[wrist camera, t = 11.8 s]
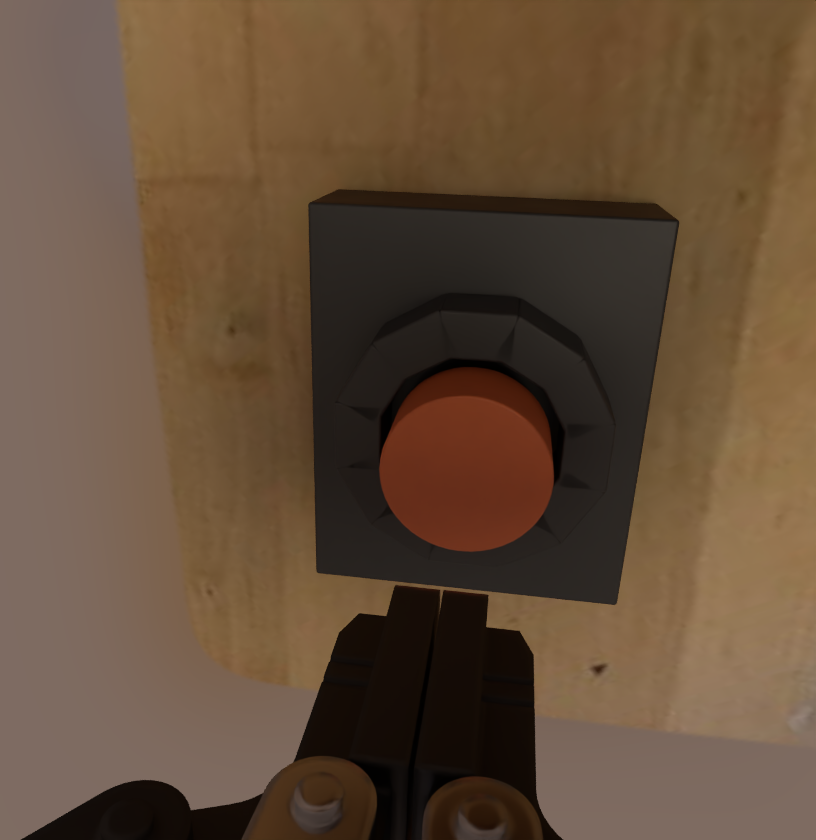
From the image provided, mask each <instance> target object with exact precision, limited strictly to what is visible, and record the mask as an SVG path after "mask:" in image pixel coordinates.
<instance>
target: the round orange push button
mask: <svg viewBox="0 0 816 840" xmlns="http://www.w3.org/2000/svg"><path fill="white" fill-rule="evenodd" d="M379 471H380V482H381V487H382V490H383V493H384V496H385V499H386V501H387V503H388V505H389V507H390V508H391V510H392V511H393V513H394V514H395V516H396V517H397V518H398V519H399V520H400V522H401V523H402V524H403V525H404V526H405V527H406V528H408V529H409V530H410V531H411V532H412V533H414V534H415V535H417V536H418V537H420V538H422V539H423V540H425V541H427V542H429V543H431V544H434V545H436V546H439V547H442V548H446V549H450V550H456V551H468V552H474V551H484V550H490V549H494V548H497V547H501V546H504V545H506V544H508V543H510V542H513V541H514V540H516V539H517V538H519V537H521V536H522V535H523V534H525V533H526V532H527V531H528V530H530V529H531V528H532V527H533V526H534V525H535V524H536V523H537V521H538V520H539V519H540V517H541V516H542V515H543V513H544V511H545V509H546V507H547V505H548V503H549V500H550V498H551V495H552V490H553V485H554V468H553V455H552V443H551V432H550V427H549V423H548V419H547V417H546V415H545V412H544V410H543V408H542V407H541V405H540V403H539V402H538V401H537V399H536V398H535V397H534V395H533V394H532V393H531V392H530V391H529V390H528V389H527V388H526V387H524V386H523V385H522V384H520V383H519V382H518V381H516V380H514V379H513V378H511V377H509V376H507V375H505V374H502V373H500V372H498V371H494V370H490V369H486V368H479V367H460V368H453V369H449V370H445V371H442V372H439V373H437V374H434V375H432V376H431V377H429V378H427V379H425V380H424V381H422V382H421V383H420V384H418V385H417V386H416V387H415V388H414V389H413V390H412V391H411V392H410V393H409V394H408V395H407V397H406V398H405V399H404V401H403V403H402V404H401V406H400V408H399V410H398V412H397V415H396V417H395V420H394V422H393V424H392V427H391V429H390V432H389V434H388V437H387V439H386V441H385V444H384V446H383V449H382V453H381V458H380V467H379Z"/></svg>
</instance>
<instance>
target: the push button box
mask: <svg viewBox="0 0 816 840" xmlns="http://www.w3.org/2000/svg"><path fill="white" fill-rule="evenodd" d="M308 207H309V253H310V298H311V344H312V389H313V435H314V480H315V525H316V570H317V572H318V573H323V574H333V575H342V576H351V577H360V578H370V579H379V580H388V581H398V582H407V583H416V584H426V585H435V586H444V587H453V588H463V589H472V590H481V591H491V592H500V593H509V594H519V595H528V596H537V597H546V598H556V599H565V600H574V601H584V602H593V603H602V604H612V605H615V604H616V603H617V599H618V593H619V587H620V581H621V574H622V568H623V562H624V556H625V550H626V544H627V538H628V532H629V526H630V520H631V513H632V507H633V501H634V495H635V489H636V483H637V477H638V471H639V465H640V459H641V453H642V446H643V440H644V434H645V428H646V422H647V416H648V410H649V404H650V398H651V392H652V385H653V379H654V373H655V367H656V361H657V355H658V349H659V343H660V337H661V331H662V324H663V318H664V312H665V306H666V300H667V294H668V288H669V282H670V276H671V270H672V264H673V257H674V251H675V245H676V239H677V233H678V227H679V220H677V219H676V218H675V217H673V216H672V215H671V214H669V213H668V212H667V211H665V210H664V209H663V208H661V207H660V206H659V205H657V204H647V203H625V202H603V201H581V200H559V199H537V198H515V197H493V196H471V195H449V194H427V193H405V192H383V191H361V190H336V191H334V192H332V193H330V194H328V195H325V196H323V197H321V198H319V199H317V200H314V201H312V202H310V203H309V205H308ZM460 367H479V368H486V369H490V370H494V371H498V372H500V373H502V374H505V375H507V376H509V377H511V378H513V379H514V380H516V381H518V382H519V383H520V384H522V385H523V386H524V387H526V388H527V389H528V390H529V391H530V392H531V393H532V394H533V395H534V397H535V398H536V399H537V401H538V402H539V403H540V405H541V407H542V408H543V410H544V412H545V415H546V417H547V419H548V423H549V427H550V432H551V443H552V455H553V468H554V485H553V490H552V495H551V498H550V500H549V503H548V505H547V507H546V509H545V511H544V513H543V515H542V516H541V517H540V519H539V520H538V521H537V523H536V524H535V525H534V526H533V527H532V528H531V529H530V530H528V531H527V532H526V533H525V534H523V535H522V536H521V537H519V538H517V539H516V540H514V541H513V542H510V543H508V544H506V545H504V546H501V547H497V548H494V549H490V550H484V551H474V552H468V551H456V550H450V549H446V548H442V547H439V546H436V545H434V544H431V543H429V542H427V541H425V540H423V539H422V538H420V537H418V536H417V535H415V534H414V533H412V532H411V531H410V530H409V529H408V528H406V527H405V526H404V525H403V524H402V523H401V522H400V520H399V519H398V518H397V517H396V516H395V514H394V513H393V511H392V510H391V508H390V507H389V505H388V503H387V501H386V499H385V496H384V493H383V490H382V487H381V482H380V471H379V467H380V458H381V453H382V449H383V446H384V444H385V441H386V439H387V437H388V434H389V432H390V429H391V427H392V424H393V422H394V420H395V417H396V415H397V412H398V410H399V408H400V406H401V404H402V403H403V401H404V399H405V398H406V397H407V395H408V394H409V393H410V392H411V391H412V390H413V389H414V388H415V387H416V386H417V385H418V384H420V383H421V382H422V381H424V380H425V379H427V378H429V377H431V376H432V375H434V374H437V373H439V372H442V371H445V370H449V369H453V368H460Z"/></svg>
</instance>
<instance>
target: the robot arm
mask: <svg viewBox="0 0 816 840" xmlns="http://www.w3.org/2000/svg"><path fill="white" fill-rule="evenodd" d="M487 607H488V595H485V594H475V593H466V592H457V591H447V590H444V591H443V596H442V602H441V608H440V590H436V589H427V588H418V587H408V586H399V585H396V586H395V587H394V590H393V594H392V598H391V602H390V605H389V609H388V613H387V616H379V615H370V614H361V613H359V614H358V615H357V616H356V617H355V618H354V619H353V620H352V621H351V622H350V623H349V624H348V625H347V626H346V627H345V628H344V629H343V630H341V631H340V632H339V635H338V638H337V640H336V643H335V646H334V649H333V652H332V655H331V660H330V662H329V663H328V666H327V669H326V672H325V675H324V680H323V682H322V683H321V686H320V689H319V692H318V695H317V698H316V700H315V703H314V706H313V709H312V712H311V715H310V718H309V721H308V723H307V726H306V729H305V732H304V735H303V738H302V740H301V743H300V746H299V749H298V752H297V755H296V758H295V760H294V762H293V763H292V764H290V765H288V766H287V767H285V768H284V769H282V770H281V771H280V772H279V773H277V774H276V775H275V776H274V777H273V779H272V780H271V781H270V782H269V784H268V785H267V787H266V789H265V790H264V793H262V794H260V795H258V796H256V797H255V798H252V799H249V800H246V801H243V802H239V803H235V804H230V805H223V806H217V807H210V808H204V809H197V810H190V807H189V804H188V801H187V800H186V798H185V797H184V795H183V794H182V793H181V792H180V791H179V790H177V789H176V788H174V787H173V786H171V785H169V784H166V783H163V782H159V781H153V780H140V781H132V782H128V783H123V784H121V785H118V786H115V787H113V788H111V789H109V790H106V791H104V792H103V793H101V794H99V795H97V796H96V797H94V798H92V799H90V800H89V801H87V802H85V803H84V804H82V805H80V806H78V807H77V808H75V809H73V810H71V811H70V812H68V813H66V814H64V815H63V816H61V817H59V818H58V819H56V820H54V821H52V822H51V823H49V824H47V825H45V826H44V827H42V828H40V829H39V830H37V831H35V832H33V833H32V834H30V835H28V836H26V837H25V838H23V839H21V840H563V839H562V838H561V837H559V836H558V835H557V834H556V832H555V831H554V830H553V829H552V828H551V827H550V825H549V824H548V822H547V821H546V819H545V818H544V816H543V814H542V812H541V809H540V807H539V804H538V800H537V794H536V767H535V765H536V763H535V709H534V656H533V653H532V652H531V650H530V648H529V646H528V645H527V643H526V641H525V640H524V638H523V636H522V635H521V633H520V631H514V630H506V629H497V628H488V627H486V621H487ZM439 613H440V614H439Z"/></svg>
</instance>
